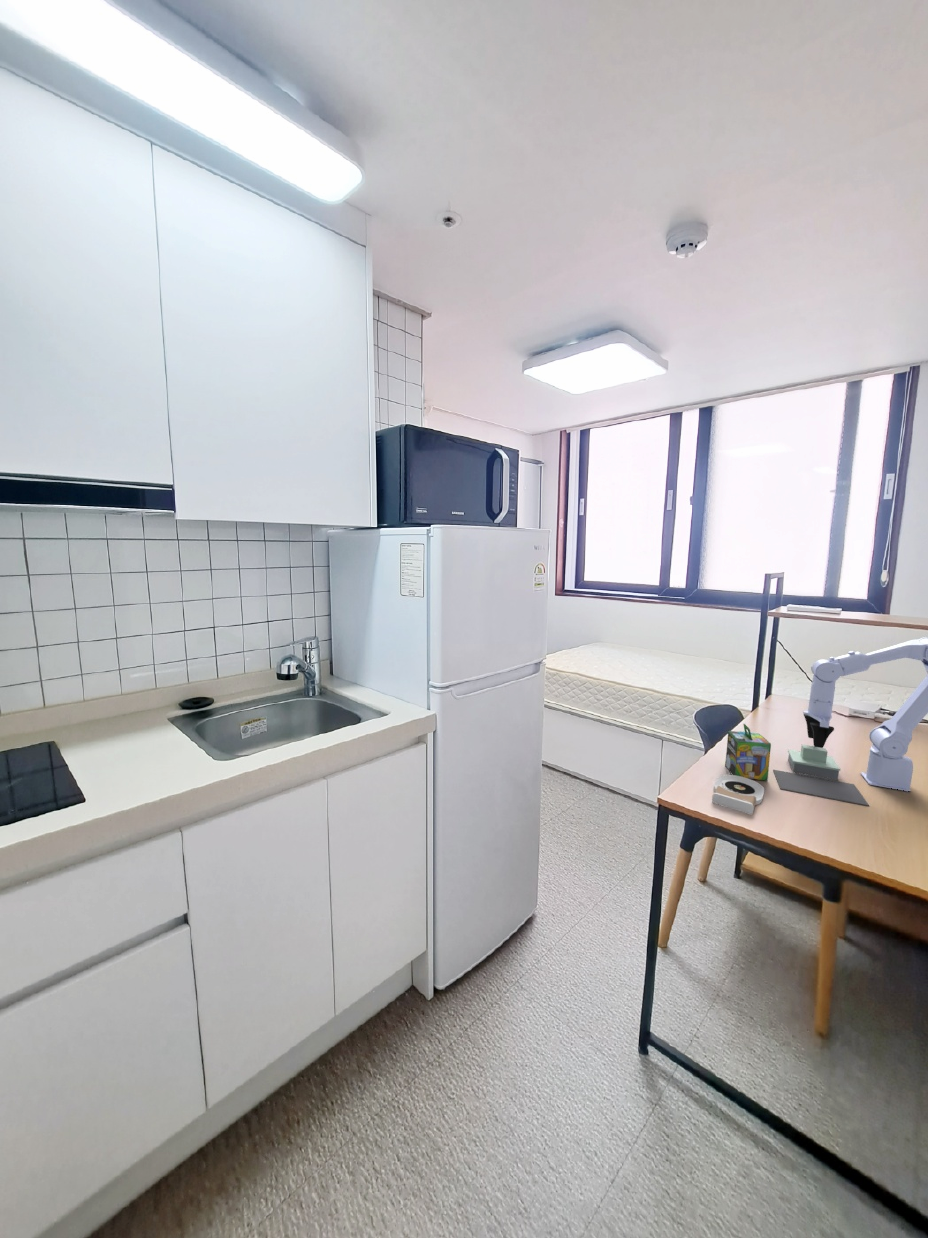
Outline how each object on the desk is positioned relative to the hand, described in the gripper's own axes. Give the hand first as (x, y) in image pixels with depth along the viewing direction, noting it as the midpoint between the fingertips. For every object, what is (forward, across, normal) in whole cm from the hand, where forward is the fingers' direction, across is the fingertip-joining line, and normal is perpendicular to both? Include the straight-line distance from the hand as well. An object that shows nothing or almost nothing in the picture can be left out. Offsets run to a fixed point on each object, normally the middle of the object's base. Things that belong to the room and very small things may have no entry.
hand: (815, 742), depth 147 cm
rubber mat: (+9, +12, -1) cm, 15 cm away
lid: (+7, 0, 0) cm, 7 cm away
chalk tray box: (+9, 0, 0) cm, 9 cm away
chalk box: (+9, +12, -19) cm, 24 cm away
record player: (+10, +28, -22) cm, 37 cm away
